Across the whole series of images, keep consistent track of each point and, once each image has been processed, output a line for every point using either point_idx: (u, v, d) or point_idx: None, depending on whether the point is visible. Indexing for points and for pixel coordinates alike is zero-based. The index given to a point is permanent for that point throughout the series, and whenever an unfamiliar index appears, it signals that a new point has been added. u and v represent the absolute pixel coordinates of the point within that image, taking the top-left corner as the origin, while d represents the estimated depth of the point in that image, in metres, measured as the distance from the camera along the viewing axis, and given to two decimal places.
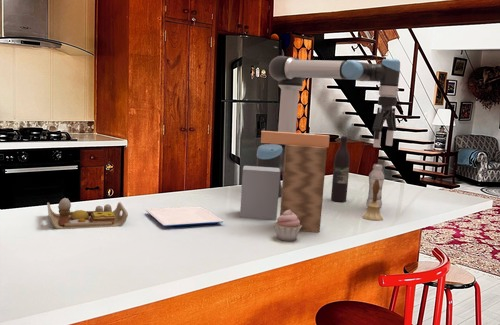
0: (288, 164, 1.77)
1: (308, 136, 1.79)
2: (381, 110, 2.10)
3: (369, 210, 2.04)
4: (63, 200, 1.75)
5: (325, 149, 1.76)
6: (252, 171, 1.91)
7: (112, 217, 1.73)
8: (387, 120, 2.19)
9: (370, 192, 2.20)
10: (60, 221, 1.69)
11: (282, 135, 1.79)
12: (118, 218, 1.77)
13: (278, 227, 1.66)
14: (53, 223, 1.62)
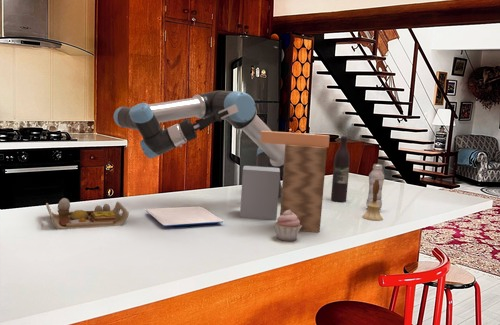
0: (288, 164, 1.77)
1: (308, 136, 1.79)
2: None
3: (369, 210, 2.04)
4: (63, 200, 1.75)
5: (325, 149, 1.76)
6: (252, 171, 1.91)
7: (113, 216, 1.74)
8: None
9: (370, 192, 2.20)
10: (61, 221, 1.69)
11: (282, 135, 1.79)
12: (118, 217, 1.78)
13: (278, 227, 1.66)
14: (55, 223, 1.62)
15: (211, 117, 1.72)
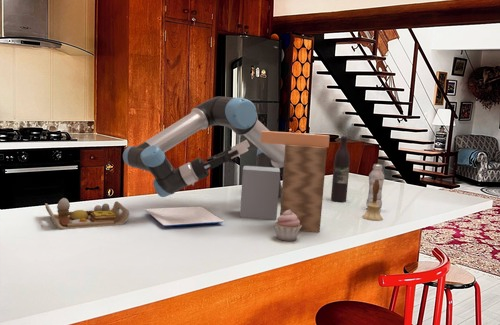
0: (288, 164, 1.77)
1: (308, 136, 1.79)
2: None
3: (369, 210, 2.04)
4: (62, 200, 1.74)
5: (325, 149, 1.76)
6: (252, 171, 1.91)
7: (113, 216, 1.75)
8: None
9: (370, 192, 2.20)
10: (61, 221, 1.69)
11: (282, 135, 1.79)
12: (118, 217, 1.79)
13: (278, 227, 1.66)
14: (57, 223, 1.62)
15: (221, 158, 1.72)
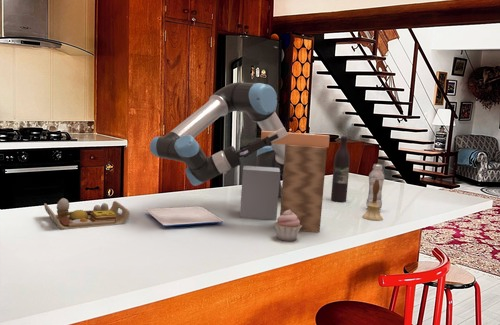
0: (288, 164, 1.77)
1: (308, 136, 1.79)
2: None
3: (369, 210, 2.04)
4: (62, 200, 1.74)
5: (325, 149, 1.76)
6: (252, 171, 1.91)
7: (113, 215, 1.75)
8: None
9: (370, 192, 2.20)
10: (62, 221, 1.68)
11: None
12: (118, 216, 1.80)
13: (278, 227, 1.66)
14: (58, 223, 1.62)
15: (262, 141, 1.76)
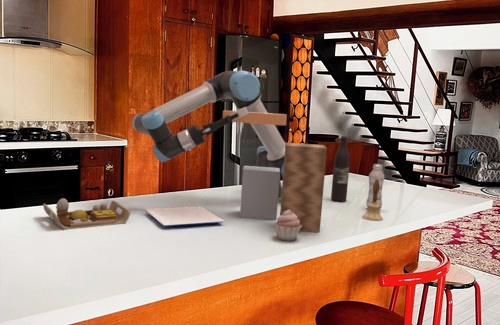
0: (288, 164, 1.77)
1: (267, 115, 1.91)
2: None
3: (369, 210, 2.04)
4: (62, 200, 1.74)
5: (325, 149, 1.76)
6: (252, 171, 1.91)
7: (114, 215, 1.76)
8: None
9: (370, 192, 2.20)
10: (63, 221, 1.68)
11: None
12: (117, 216, 1.80)
13: (278, 227, 1.66)
14: (60, 224, 1.62)
15: (223, 120, 1.88)
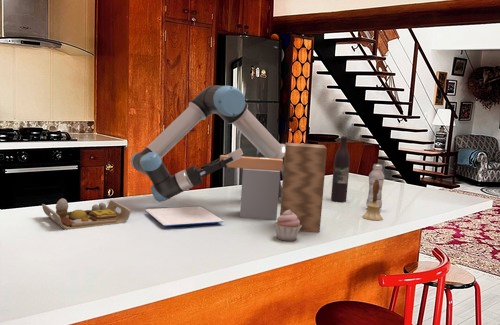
0: (288, 164, 1.77)
1: (263, 160, 1.93)
2: None
3: (369, 210, 2.04)
4: (61, 201, 1.74)
5: (325, 149, 1.76)
6: (252, 171, 1.91)
7: (114, 214, 1.77)
8: None
9: (370, 192, 2.20)
10: (64, 221, 1.68)
11: (239, 160, 1.94)
12: (117, 215, 1.81)
13: (278, 227, 1.66)
14: (62, 224, 1.62)
15: (217, 164, 1.88)
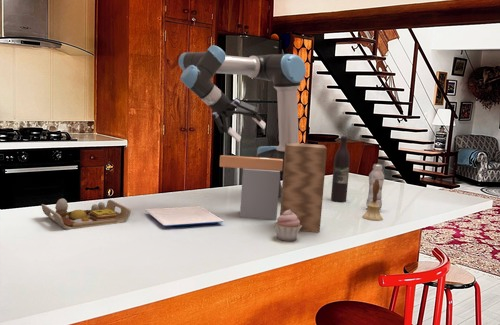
0: (288, 164, 1.77)
1: (263, 160, 1.93)
2: None
3: (369, 210, 2.04)
4: (61, 201, 1.74)
5: (325, 149, 1.76)
6: (252, 171, 1.91)
7: (114, 214, 1.77)
8: None
9: (370, 192, 2.20)
10: (64, 222, 1.68)
11: (239, 160, 1.94)
12: (117, 215, 1.81)
13: (278, 227, 1.66)
14: (63, 224, 1.62)
15: (254, 107, 1.94)
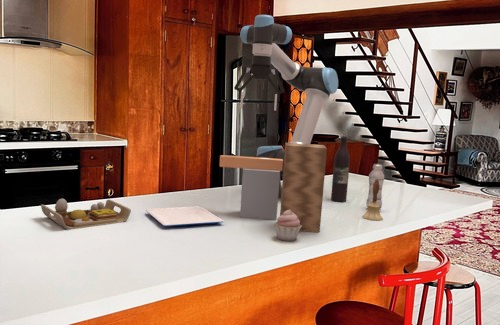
0: (288, 164, 1.77)
1: (263, 160, 1.93)
2: (243, 69, 2.02)
3: (369, 210, 2.04)
4: (61, 201, 1.74)
5: (325, 149, 1.76)
6: (252, 171, 1.91)
7: (114, 214, 1.78)
8: (269, 82, 2.03)
9: (370, 192, 2.20)
10: (65, 222, 1.68)
11: (239, 160, 1.94)
12: (116, 214, 1.82)
13: (278, 227, 1.66)
14: (65, 224, 1.62)
15: None
